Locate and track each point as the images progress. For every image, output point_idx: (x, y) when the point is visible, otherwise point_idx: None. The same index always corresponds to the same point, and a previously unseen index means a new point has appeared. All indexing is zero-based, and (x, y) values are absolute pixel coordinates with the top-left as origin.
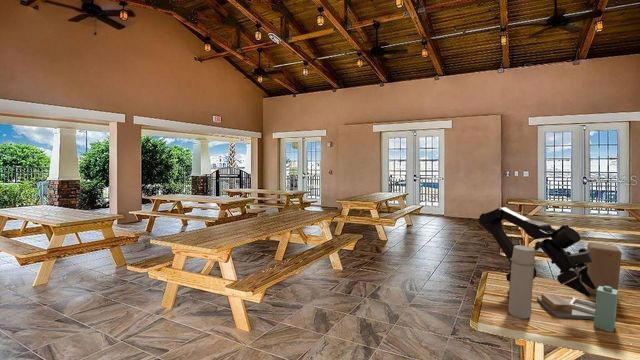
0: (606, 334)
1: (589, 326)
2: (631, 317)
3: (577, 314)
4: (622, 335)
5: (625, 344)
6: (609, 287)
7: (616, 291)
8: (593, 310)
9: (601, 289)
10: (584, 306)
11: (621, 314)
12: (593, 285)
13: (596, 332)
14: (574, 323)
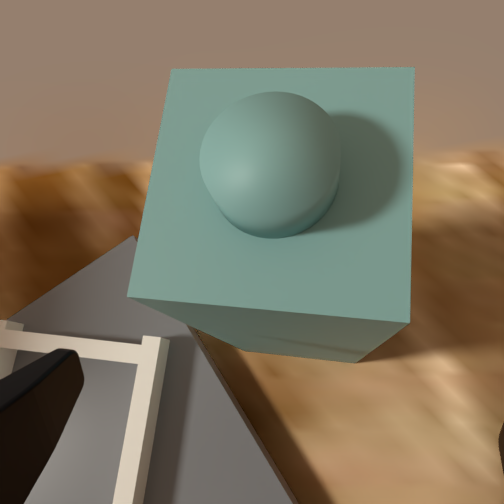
0: (430, 285)
1: (375, 388)
2: (35, 177)
3: (262, 482)
4: None
5: (499, 189)
6: (264, 129)
7: (252, 78)
8: (153, 370)
9: (314, 256)
10: None
11: (18, 222)
12: (48, 384)
13: (451, 342)
14: (405, 494)
